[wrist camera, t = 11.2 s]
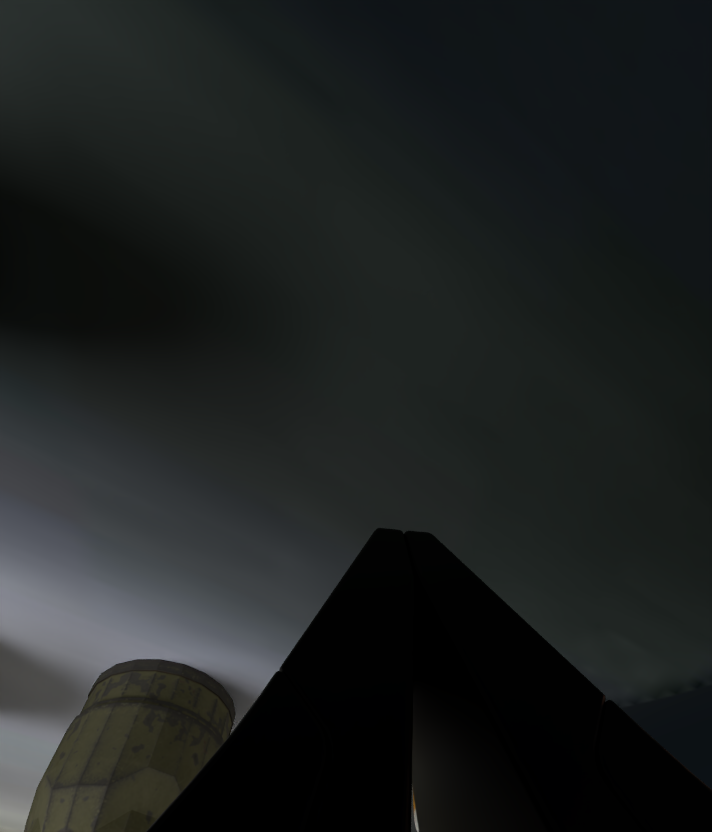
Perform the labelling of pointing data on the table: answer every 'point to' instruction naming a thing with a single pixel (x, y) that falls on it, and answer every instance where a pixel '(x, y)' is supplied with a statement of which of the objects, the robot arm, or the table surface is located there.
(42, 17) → the table surface
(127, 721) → the thermos
